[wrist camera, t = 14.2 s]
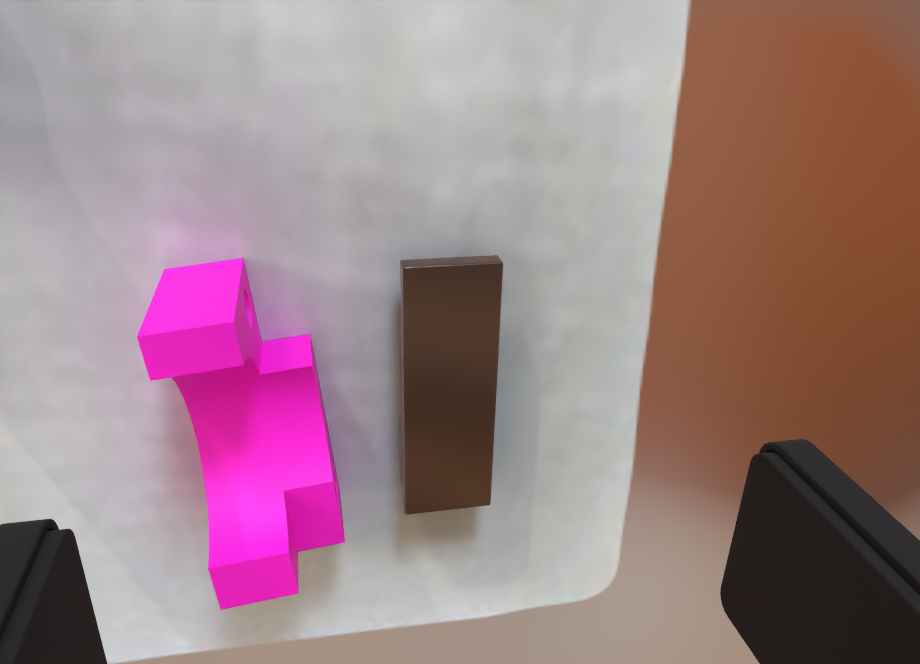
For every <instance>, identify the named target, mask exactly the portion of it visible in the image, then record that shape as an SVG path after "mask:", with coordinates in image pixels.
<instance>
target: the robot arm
mask: <svg viewBox="0 0 920 664" xmlns="http://www.w3.org/2000/svg"><path fill="white" fill-rule="evenodd" d="M720 593H721V600H722V605H723V608H724V611H725V612H726V614H727V616H728V618H729V619H730V621H731V622H732V623H733V625H734V626H735V628H736V629H737V631H738V632H739V634H740V635H741V637H742V638H743V640H744V641H745V642H746V644H747V645H748V647H749V648H750V650H751V651H752V653H753V654H754V656H755V657H756V659H757V660H758V662H759V663H760V664H920V541H919V540H918V539H917V538H916V537H915V536H914V535H913V534H912V533H911V532H909V531H908V530H907V529H906V528H905V527H904V526H903V525H902V524H901V523H899V522H898V521H897V520H896V519H895V518H894V517H893V516H892V515H891V514H889V513H888V512H887V511H886V510H885V509H884V508H883V507H882V506H881V505H879V504H878V503H877V502H876V501H875V500H874V499H873V498H872V497H871V496H869V495H868V494H867V493H866V492H865V491H864V490H863V489H862V488H861V487H860V486H859V485H857V484H856V483H855V482H854V481H853V480H852V479H851V478H850V477H849V476H847V475H846V474H845V473H844V472H843V471H842V470H841V469H840V468H838V466H836V465H835V464H834V463H833V462H832V461H831V460H830V459H829V458H828V457H826V456H825V455H824V454H823V453H822V452H821V451H820V450H819V449H818V448H817V447H815V446H814V445H813V444H812V443H810V442H809V441H807V440H803V439H799V440H789V441H779V442H770V443H767V444H764V445H763V447H762V448H761V449H760V452H759V454H756V455H754V456H753V458H752V459H751V462H750V466H749V470H748V474H747V479H746V483H745V487H744V491H743V496H742V500H741V504H740V509H739V513H738V517H737V521H736V526H735V530H734V534H733V538H732V543H731V547H730V551H729V556H728V560H727V564H726V569H725V572H724V577H723V581H722V585H721V592H720ZM0 664H107V661H106V657H105V653H104V649H103V645H102V641H101V637H100V634H99V630H98V626H97V622H96V618H95V614H94V610H93V606H92V602H91V598H90V594H89V590H88V586H87V582H86V578H85V574H84V570H83V566H82V562H81V558H80V555H79V551H78V547H77V543H76V539H75V536H74V533H73V531H72V530H71V529H63V530H59V529H58V526H57V524H56V522H55V521H54V520H52V519H44V520H35V521H26V522H16V523H7V524H2V525H0Z"/></svg>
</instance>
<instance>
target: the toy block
mask: <svg viewBox="0 0 920 664" xmlns="http://www.w3.org/2000/svg"><path fill="white" fill-rule="evenodd" d="M137 338H138V342H139V345H140V348H141V351H142V355H143V358H144V361H145V364H146V368H147V371H148V374H149V377H150V381H151V380H157V379H164V378H170V377H172V378H173V380H174V381H175V382H176V384H177V386H178V387H179V389H180V391H181V393H182V395H183V398H184V400H185V402H186V405H187V408H188V411H189V414H190V417H191V420H192V423H193V427H194V430H195V434H196V438H197V442H198V447H199V451H200V456H201V462H202V467H203V473H204V480H205V488H206V496H207V506H208V520H209V565H208V569H209V573H210V576H211V579H212V582H213V586H214V589H215V592H216V595H217V599H218V602H219V605H220V608H221V610H222V609H227V608H231V607H236V606H241V605H246V604H251V603H255V602H260V601H265V600H270V599H274V598H279V597H284V596H289V595H293V594H298V552H299V551H304V550H309V549H314V548H318V547H323V546H328V545H333V544H338V543H343V542H345V539H344V529H343V519H342V509H341V499H340V490H339V484H338V479H337V474H336V469H335V463H334V458H333V453H332V447H331V442H330V437H329V432H328V426H327V421H326V416H325V410H324V405H323V400H322V395H321V389H320V384H319V379H318V373H317V368H316V363H315V357H314V352H313V347H312V342H311V336H310V334H309V335H303V336H296V337H290V338H284V339H278V340H271V341H265V342H262V341H261V336H260V332H259V327H258V323H257V318H256V314H255V309H254V305H253V300H252V296H251V291H250V287H249V282H248V278H247V273H246V269H245V264H244V260H243V258H242V259H235V260H228V261H221V262H214V263H207V264H200V265H193V266H186V267H179V268H172V269H165V270H164V272H163V274H162V276H161V279H160V281H159V284H158V286H157V289H156V291H155V294H154V296H153V299H152V301H151V304H150V306H149V309H148V311H147V313H146V316H145V318H144V321H143V323H142V326H141V328H140V331H139V333H138V336H137Z"/></svg>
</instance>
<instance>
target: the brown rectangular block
mask: <svg viewBox="0 0 920 664" xmlns="http://www.w3.org/2000/svg"><path fill="white" fill-rule="evenodd" d="M502 274H503V262H502V261H501V259H500V258H499V257H498V256H476V257H455V258H435V259H414V260H401V262H400V278H401V375H402V472H403V506H404V511H405V514H415V513H424V512H433V511H441V510H450V509H459V508H468V507H476V506H485V505H490V501H491V482H492V463H493V444H494V425H495V406H496V387H497V368H498V350H499V331H500V312H501V293H502Z"/></svg>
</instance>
